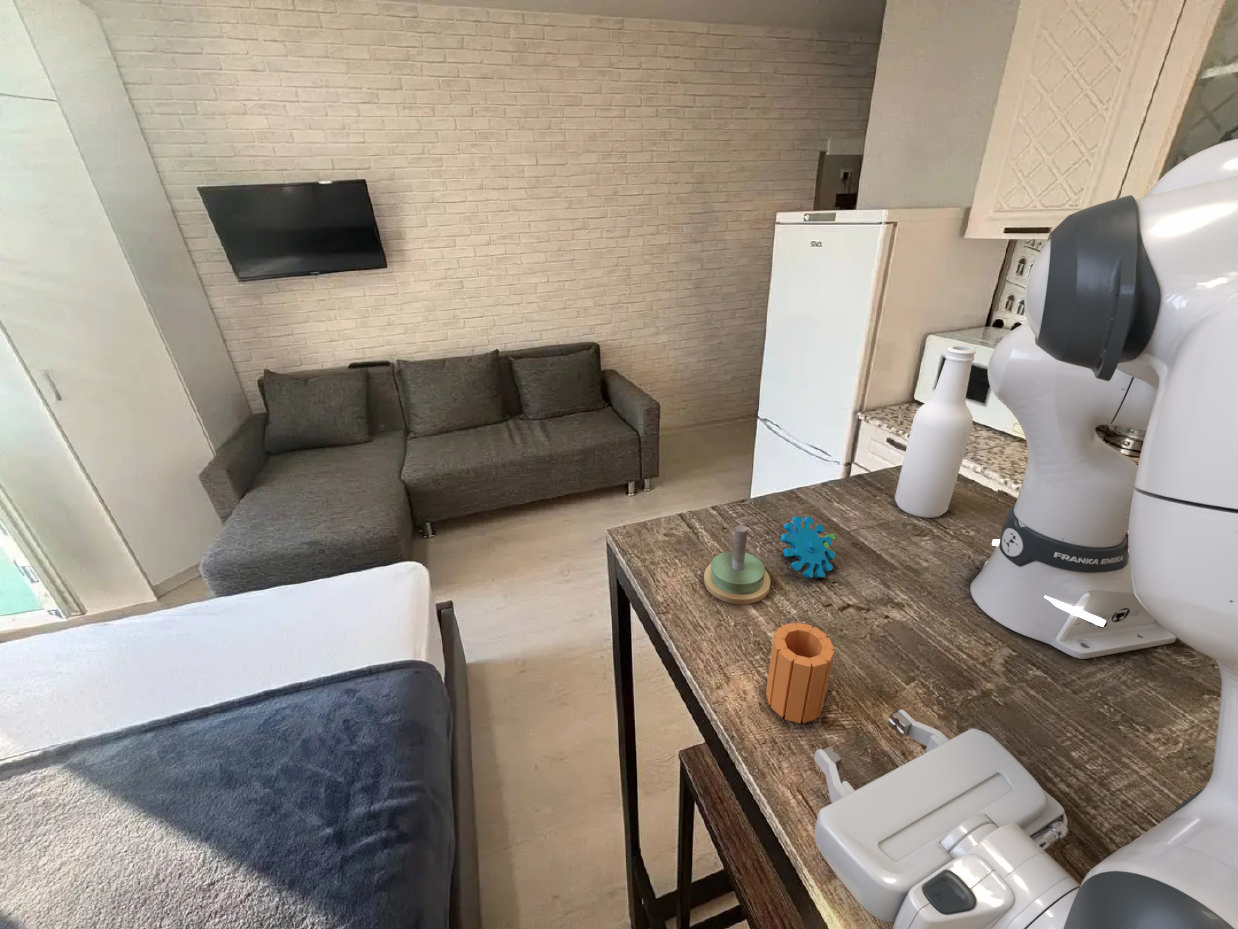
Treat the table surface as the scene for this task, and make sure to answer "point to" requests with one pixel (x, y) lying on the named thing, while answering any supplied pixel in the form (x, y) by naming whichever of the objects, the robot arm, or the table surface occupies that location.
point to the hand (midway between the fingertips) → (858, 733)
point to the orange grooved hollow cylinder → (799, 671)
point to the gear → (808, 547)
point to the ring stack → (737, 574)
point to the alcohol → (938, 441)
